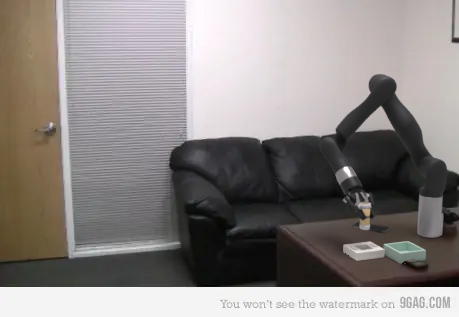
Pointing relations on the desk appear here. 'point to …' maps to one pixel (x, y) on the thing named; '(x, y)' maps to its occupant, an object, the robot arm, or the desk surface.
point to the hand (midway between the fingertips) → (368, 218)
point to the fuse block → (363, 251)
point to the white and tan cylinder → (366, 209)
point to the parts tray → (404, 251)
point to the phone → (374, 227)
